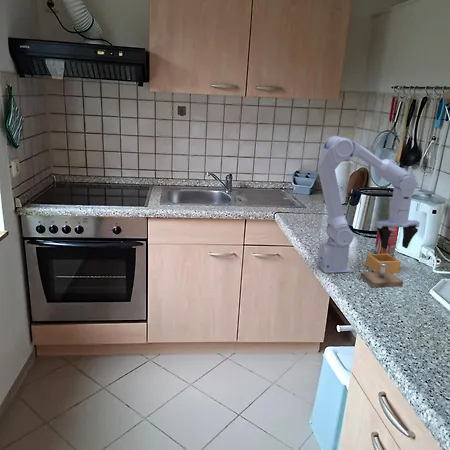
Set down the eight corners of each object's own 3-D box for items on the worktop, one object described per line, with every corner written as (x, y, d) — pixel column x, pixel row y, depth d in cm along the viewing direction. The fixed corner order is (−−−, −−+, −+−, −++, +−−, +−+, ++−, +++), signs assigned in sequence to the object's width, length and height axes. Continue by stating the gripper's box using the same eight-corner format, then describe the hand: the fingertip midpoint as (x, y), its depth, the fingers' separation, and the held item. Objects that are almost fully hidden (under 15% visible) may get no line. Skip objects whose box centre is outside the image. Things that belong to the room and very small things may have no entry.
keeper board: (372, 287, 128) (375, 269, 126) (360, 277, 135) (362, 259, 133) (402, 286, 129) (405, 268, 128) (388, 275, 137) (391, 258, 135)
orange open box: (377, 273, 138) (378, 262, 137) (365, 264, 146) (366, 254, 145) (399, 272, 140) (400, 261, 138) (386, 264, 147) (387, 253, 146)
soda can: (378, 249, 162) (382, 219, 159) (396, 253, 158) (401, 223, 155) (371, 254, 157) (375, 223, 154) (390, 258, 153) (395, 227, 149)
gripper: (386, 212, 132) (380, 252, 136) (427, 211, 135) (421, 250, 139) (375, 206, 139) (370, 245, 143) (414, 206, 141) (408, 244, 145)
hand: (394, 247), depth 141 cm, fingers open, 7 cm apart
